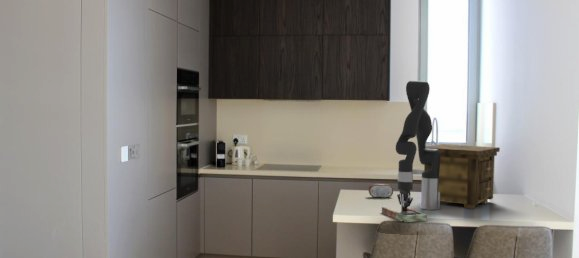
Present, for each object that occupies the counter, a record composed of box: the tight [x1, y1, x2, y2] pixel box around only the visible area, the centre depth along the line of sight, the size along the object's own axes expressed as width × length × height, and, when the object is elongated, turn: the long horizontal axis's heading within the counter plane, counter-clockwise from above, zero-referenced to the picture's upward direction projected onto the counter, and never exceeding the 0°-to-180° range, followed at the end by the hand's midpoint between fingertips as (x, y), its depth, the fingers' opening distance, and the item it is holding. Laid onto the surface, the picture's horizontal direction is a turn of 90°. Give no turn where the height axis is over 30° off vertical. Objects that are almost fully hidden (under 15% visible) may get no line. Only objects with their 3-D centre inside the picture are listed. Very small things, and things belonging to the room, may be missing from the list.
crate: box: [423, 143, 500, 209], centre depth 336 cm, size 35×35×33 cm
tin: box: [368, 183, 394, 198], centre depth 352 cm, size 15×3×8 cm, turn 92°
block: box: [401, 211, 416, 215], centre depth 288 cm, size 5×5×4 cm
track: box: [381, 206, 428, 223], centre depth 293 cm, size 13×24×3 cm, turn 17°
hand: (404, 214), depth 292 cm, fingers closed
